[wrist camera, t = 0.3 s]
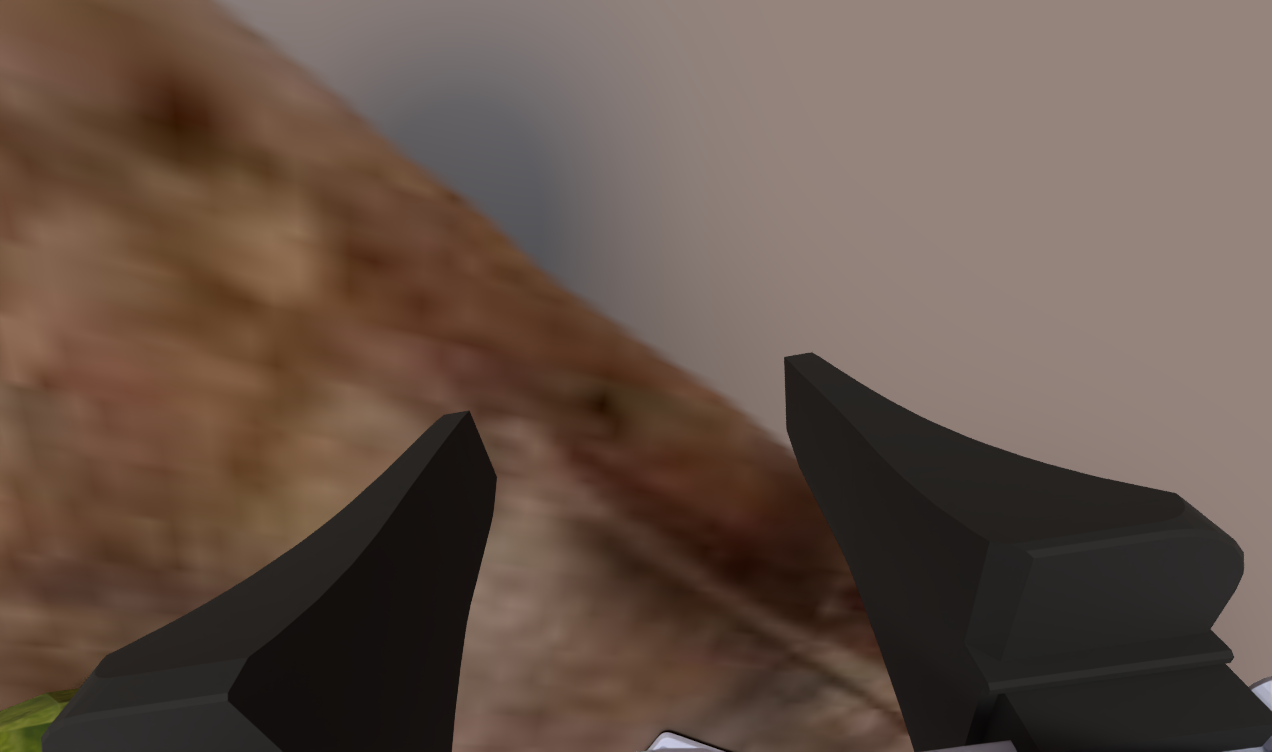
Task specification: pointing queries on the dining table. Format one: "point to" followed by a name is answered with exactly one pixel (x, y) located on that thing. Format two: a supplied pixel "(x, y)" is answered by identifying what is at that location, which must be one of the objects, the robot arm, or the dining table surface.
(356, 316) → the dining table surface
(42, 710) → the lettuce
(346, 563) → the robot arm
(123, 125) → the dining table surface
